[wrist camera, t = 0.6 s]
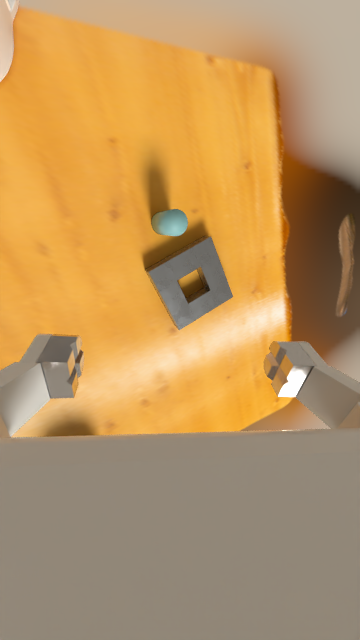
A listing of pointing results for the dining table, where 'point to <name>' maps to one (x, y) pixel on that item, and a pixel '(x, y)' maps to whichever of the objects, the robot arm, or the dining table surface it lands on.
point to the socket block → (179, 266)
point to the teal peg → (169, 222)
